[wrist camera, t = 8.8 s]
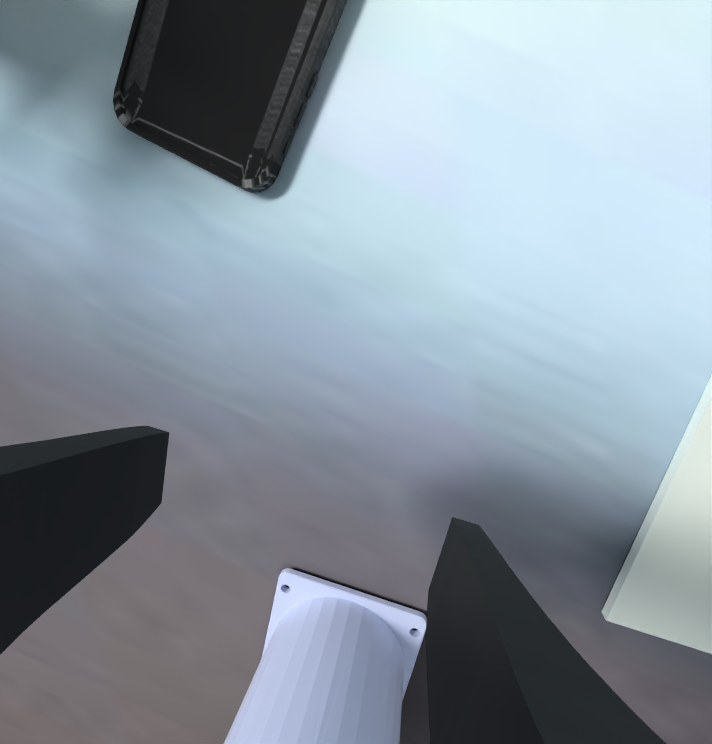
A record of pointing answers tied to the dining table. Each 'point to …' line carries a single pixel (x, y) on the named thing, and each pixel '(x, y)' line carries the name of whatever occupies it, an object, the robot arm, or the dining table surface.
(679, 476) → the mat
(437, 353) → the dining table surface
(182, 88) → the phone
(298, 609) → the robot arm
